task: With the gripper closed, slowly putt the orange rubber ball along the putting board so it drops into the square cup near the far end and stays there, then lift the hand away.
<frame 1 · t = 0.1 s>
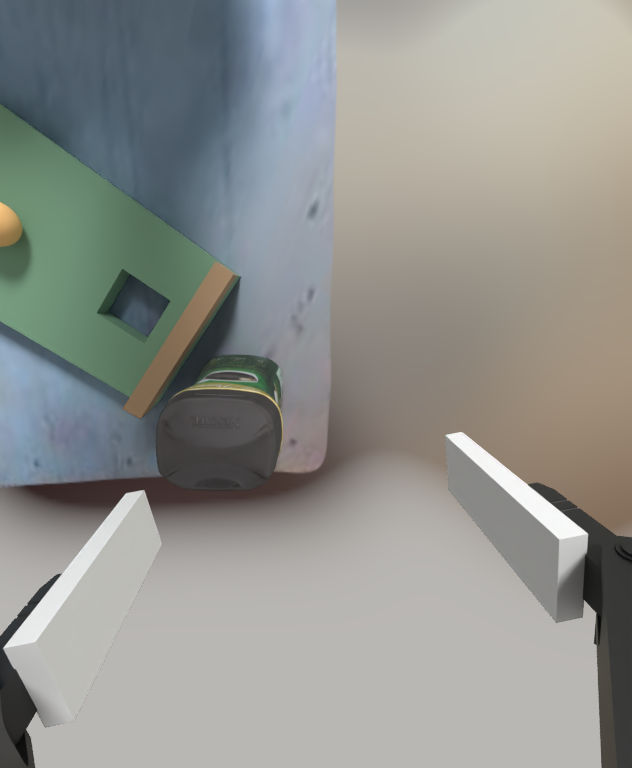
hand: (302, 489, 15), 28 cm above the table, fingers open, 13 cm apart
coffee jar: (244, 385, 43), on the table
putting board: (83, 267, 38), on the table
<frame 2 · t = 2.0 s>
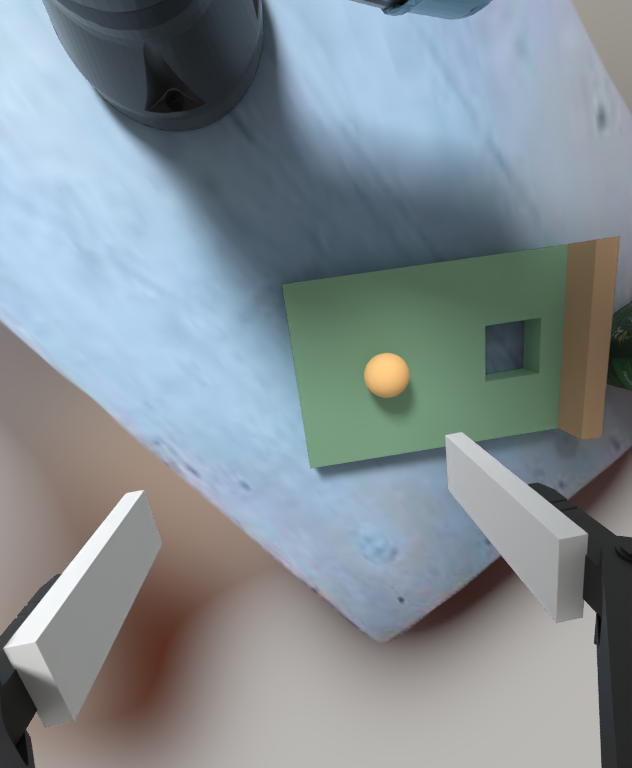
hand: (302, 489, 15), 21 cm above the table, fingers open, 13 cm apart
coffee jar: (625, 339, 37), on the table
putting board: (431, 356, 36), on the table
ball: (386, 375, 31), point 4 cm above the table, touching putting board
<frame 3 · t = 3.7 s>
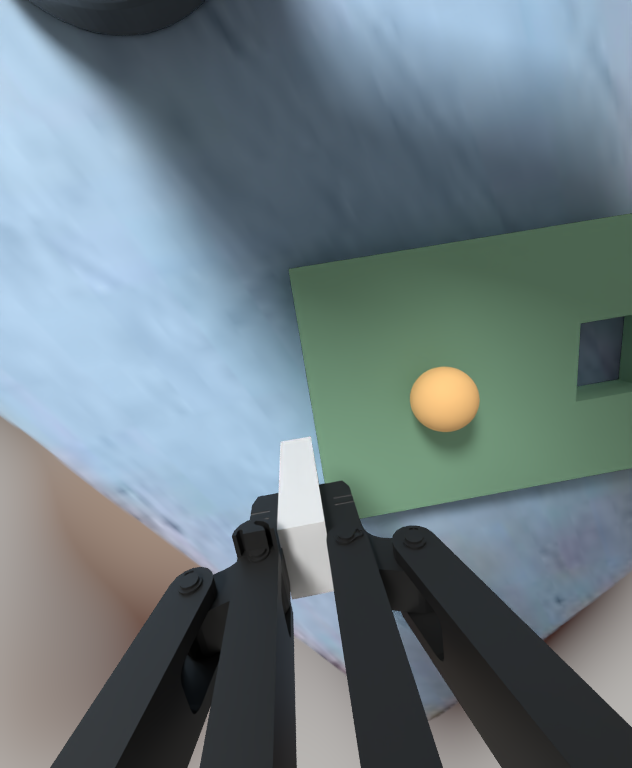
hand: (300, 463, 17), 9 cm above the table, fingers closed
putting board: (496, 366, 26), on the table
ball: (443, 399, 21), point 4 cm above the table, touching putting board
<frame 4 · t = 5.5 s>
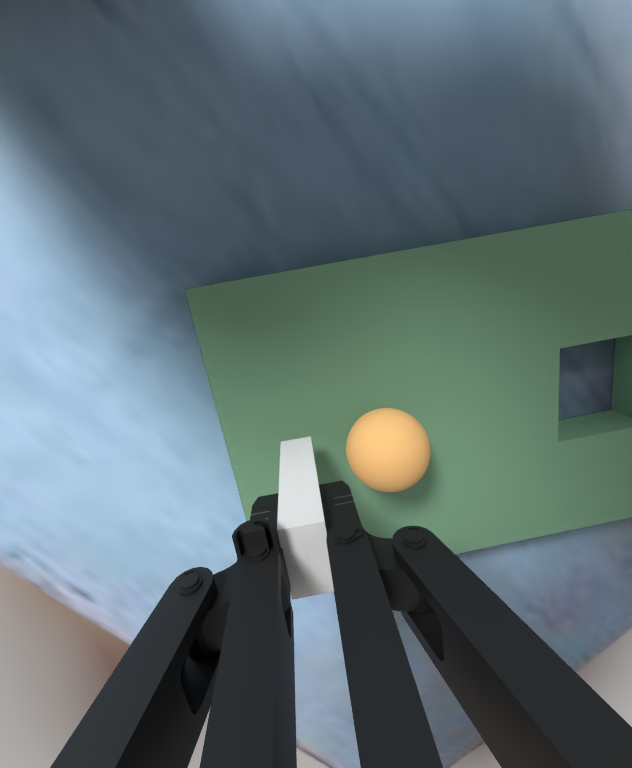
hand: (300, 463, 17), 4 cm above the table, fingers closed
putting board: (462, 398, 21), on the table
ball: (387, 449, 17), point 4 cm above the table, touching putting board
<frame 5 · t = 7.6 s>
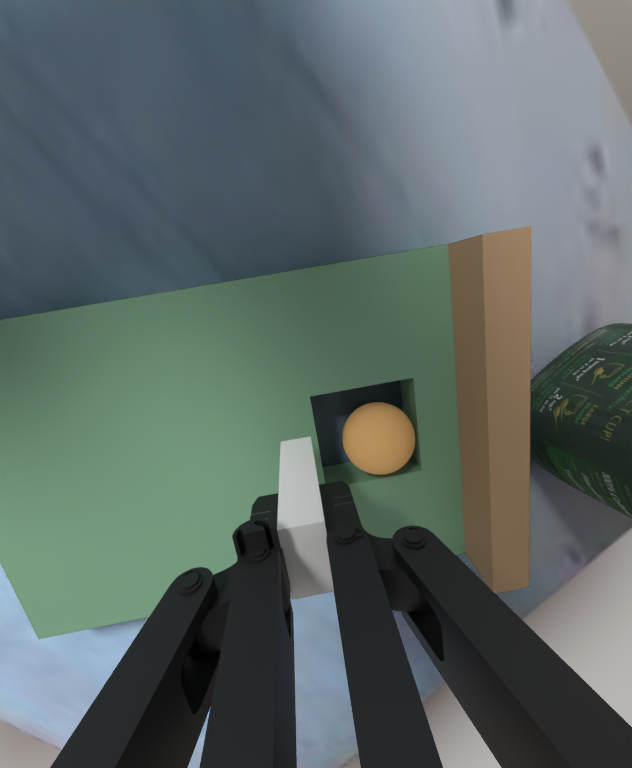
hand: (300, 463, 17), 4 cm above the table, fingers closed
coffee jar: (577, 397, 22), on the table
putting board: (245, 439, 21), on the table
ball: (378, 437, 19), point 2 cm above the table, tilted 64°
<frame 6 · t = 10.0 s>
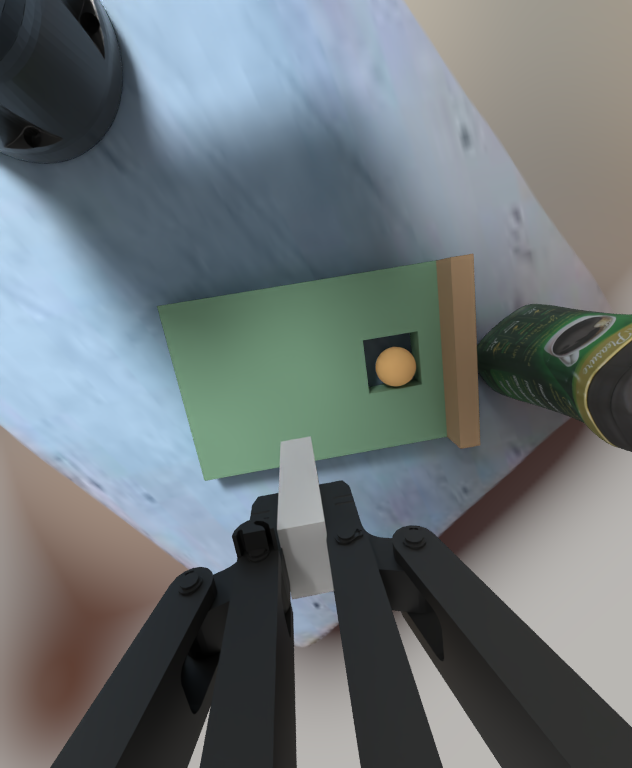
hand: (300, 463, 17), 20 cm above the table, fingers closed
coffee jar: (513, 348, 38), on the table
putting board: (321, 369, 37), on the table
ball: (395, 366, 35), point 2 cm above the table, tilted 57°
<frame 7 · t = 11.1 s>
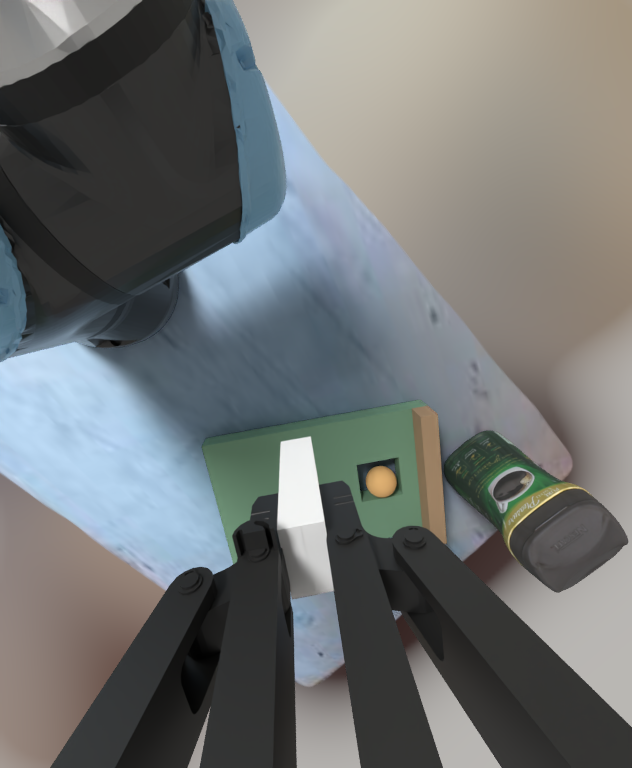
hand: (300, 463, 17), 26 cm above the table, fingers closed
coffee jar: (475, 460, 49), on the table
putting board: (324, 479, 47), on the table
ball: (381, 481, 46), point 2 cm above the table, tilted 53°
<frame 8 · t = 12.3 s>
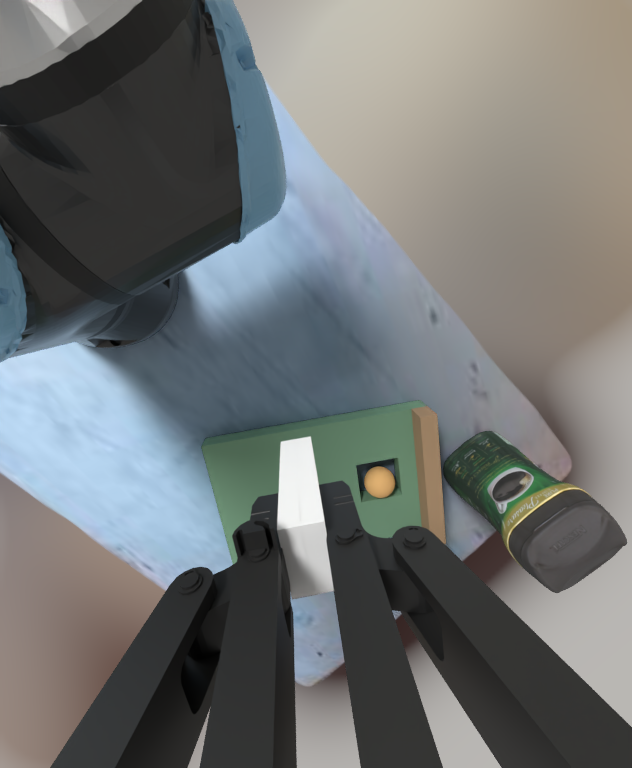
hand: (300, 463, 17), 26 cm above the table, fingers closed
coffee jar: (474, 460, 49), on the table
putting board: (324, 480, 47), on the table
ball: (379, 481, 46), point 2 cm above the table, tilted 49°
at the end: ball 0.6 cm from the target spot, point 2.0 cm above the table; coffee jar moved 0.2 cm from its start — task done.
